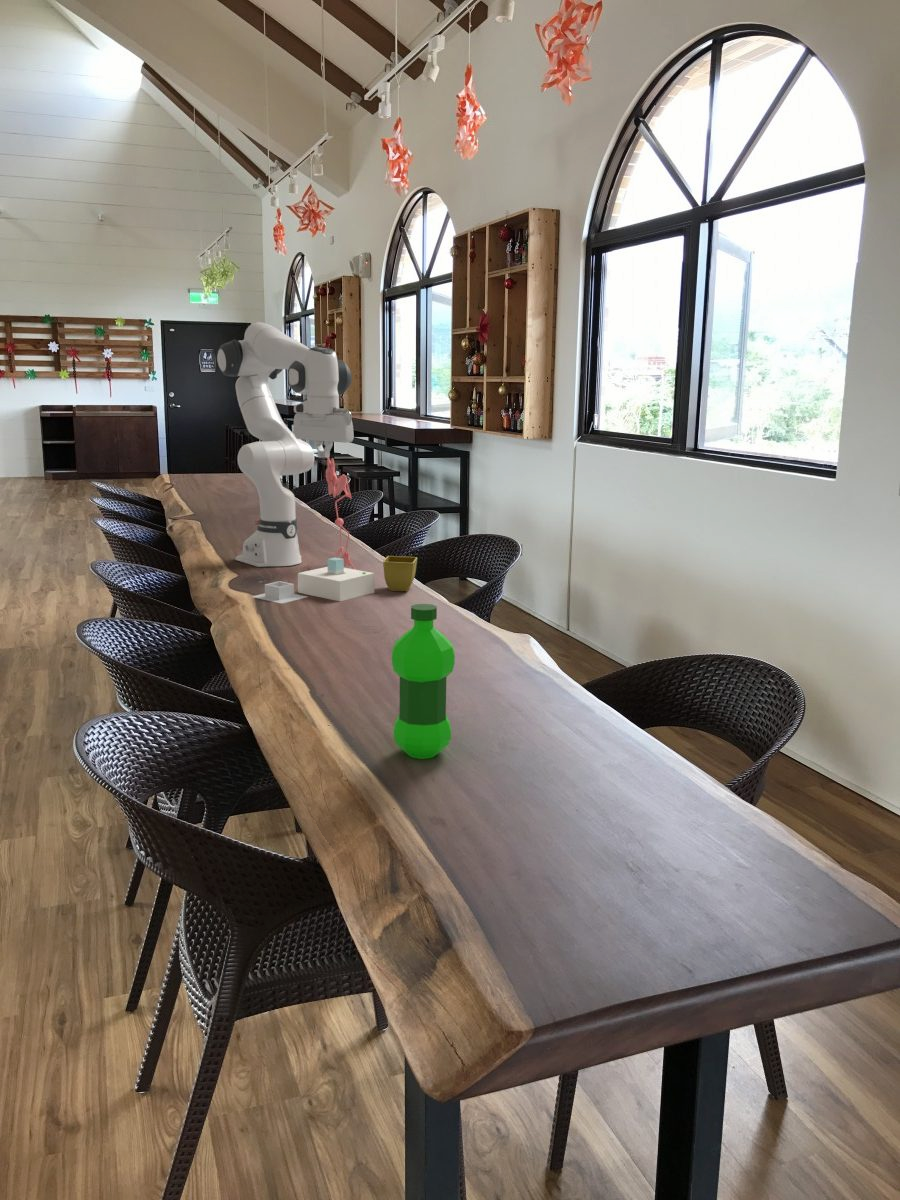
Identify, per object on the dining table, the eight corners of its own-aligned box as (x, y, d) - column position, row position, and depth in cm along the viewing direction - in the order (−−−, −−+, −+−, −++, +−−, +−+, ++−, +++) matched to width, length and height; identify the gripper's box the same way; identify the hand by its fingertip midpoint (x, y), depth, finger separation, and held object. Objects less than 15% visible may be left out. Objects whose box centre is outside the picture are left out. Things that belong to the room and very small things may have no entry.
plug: (327, 590, 268) (327, 559, 265) (335, 588, 270) (335, 557, 268) (336, 592, 266) (335, 560, 264) (343, 590, 268) (343, 558, 266)
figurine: (347, 559, 316) (344, 452, 307) (362, 575, 292) (359, 460, 283) (301, 562, 312) (296, 454, 303) (312, 579, 288) (307, 462, 279)
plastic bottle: (451, 740, 164) (453, 599, 158) (453, 765, 154) (456, 615, 148) (392, 740, 164) (393, 598, 158) (391, 765, 154) (391, 614, 148)
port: (298, 594, 267) (297, 571, 266) (332, 585, 278) (332, 564, 277) (340, 603, 258) (340, 579, 256) (374, 594, 269) (374, 571, 267)
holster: (250, 598, 261) (250, 584, 260) (277, 592, 269) (277, 578, 268) (281, 605, 254) (281, 590, 253) (308, 598, 262) (308, 584, 261)
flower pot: (417, 587, 279) (417, 556, 276) (413, 593, 270) (413, 562, 268) (387, 585, 279) (387, 555, 277) (382, 592, 271) (382, 561, 269)
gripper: (358, 408, 263) (358, 458, 266) (305, 405, 275) (306, 454, 278) (342, 408, 258) (343, 460, 261) (289, 406, 270) (290, 455, 273)
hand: (323, 457), depth 270 cm, fingers closed
